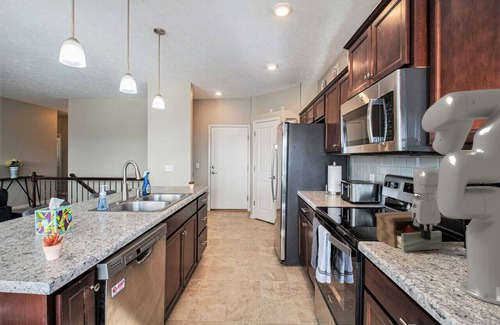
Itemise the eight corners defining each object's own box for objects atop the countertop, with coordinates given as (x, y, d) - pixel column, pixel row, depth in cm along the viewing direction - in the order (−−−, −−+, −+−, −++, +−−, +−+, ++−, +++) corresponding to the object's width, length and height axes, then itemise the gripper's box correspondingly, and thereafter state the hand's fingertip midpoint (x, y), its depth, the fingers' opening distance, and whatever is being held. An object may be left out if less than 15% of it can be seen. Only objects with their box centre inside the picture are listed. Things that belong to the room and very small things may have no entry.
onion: (404, 239, 116) (403, 223, 116) (418, 242, 112) (417, 225, 112) (400, 242, 112) (399, 225, 112) (414, 245, 108) (414, 227, 108)
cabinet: (429, 245, 112) (428, 216, 112) (393, 247, 110) (392, 218, 110) (409, 237, 125) (408, 211, 125) (376, 239, 122) (375, 213, 122)
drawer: (442, 248, 106) (441, 231, 106) (403, 251, 104) (403, 234, 104) (415, 238, 121) (414, 223, 121) (381, 241, 118) (380, 225, 118)
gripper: (415, 198, 99) (417, 243, 99) (448, 197, 101) (449, 240, 101) (402, 196, 106) (403, 237, 106) (432, 195, 108) (433, 235, 108)
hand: (425, 239), depth 103 cm, fingers closed
